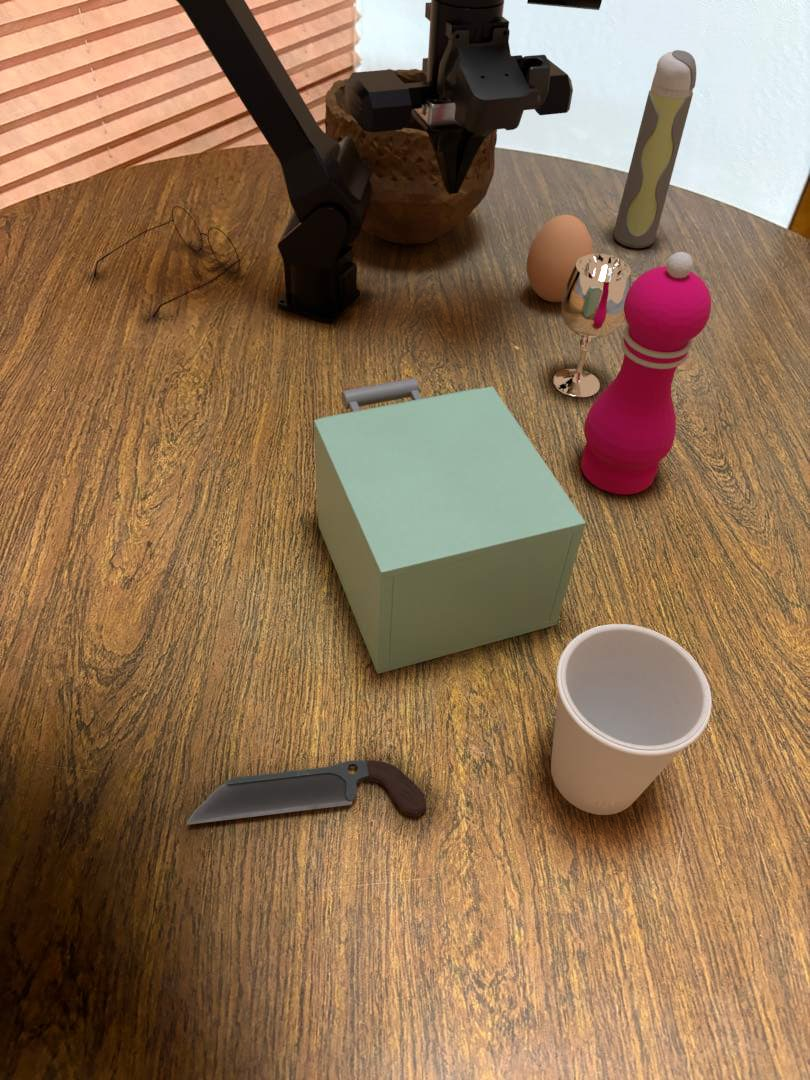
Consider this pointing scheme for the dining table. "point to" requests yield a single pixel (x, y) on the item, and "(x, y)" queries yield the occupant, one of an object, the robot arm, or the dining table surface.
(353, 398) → the drawer
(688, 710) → the dixie cup
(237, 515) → the dining table surface
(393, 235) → the bowl
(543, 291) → the egg
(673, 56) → the grey yellow cylinder
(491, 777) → the dining table surface
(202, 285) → the eyeglasses
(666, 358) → the pepper mill
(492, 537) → the cabinet
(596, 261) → the wineglass
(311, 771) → the knife
